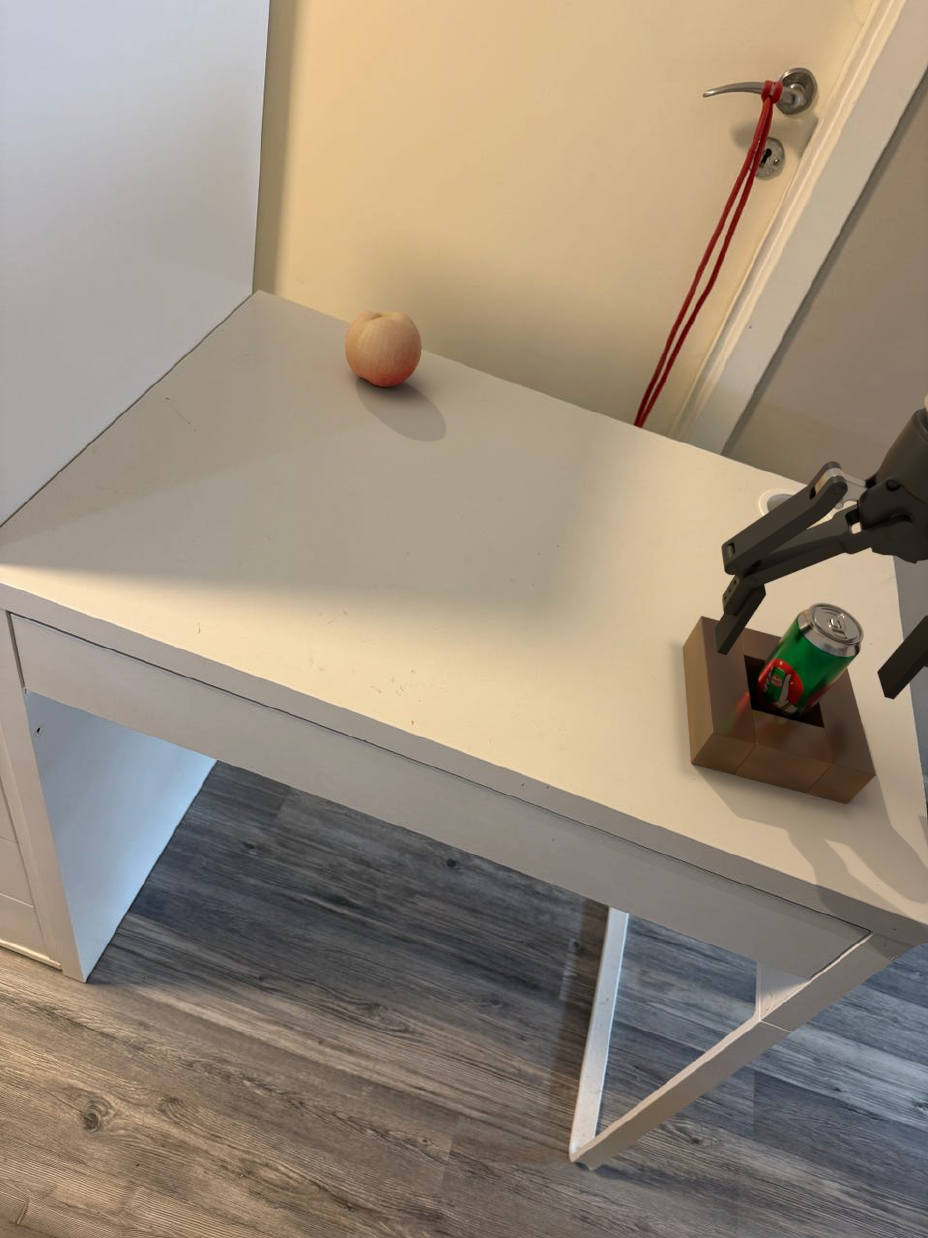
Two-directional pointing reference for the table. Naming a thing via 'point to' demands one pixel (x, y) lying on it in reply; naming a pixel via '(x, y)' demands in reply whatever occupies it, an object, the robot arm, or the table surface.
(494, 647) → the table surface
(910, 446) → the robot arm
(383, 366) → the fruit
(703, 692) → the holder
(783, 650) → the soda can
